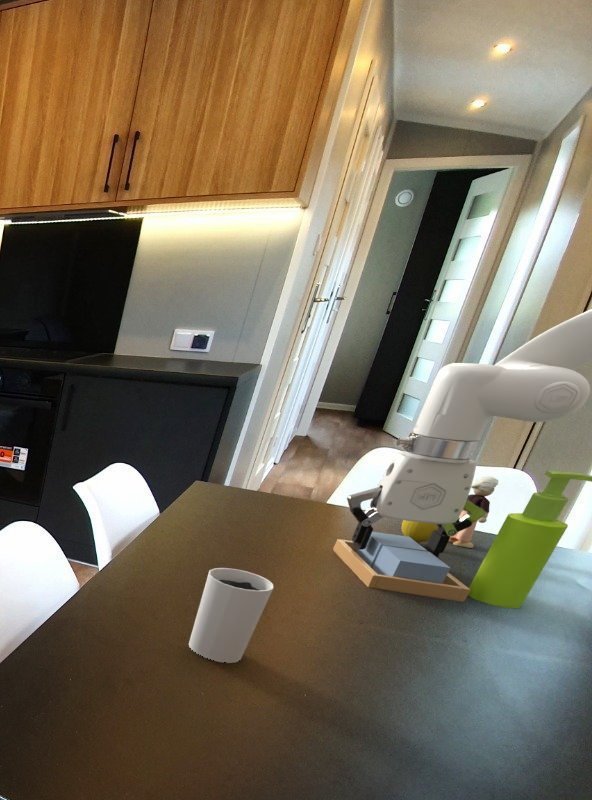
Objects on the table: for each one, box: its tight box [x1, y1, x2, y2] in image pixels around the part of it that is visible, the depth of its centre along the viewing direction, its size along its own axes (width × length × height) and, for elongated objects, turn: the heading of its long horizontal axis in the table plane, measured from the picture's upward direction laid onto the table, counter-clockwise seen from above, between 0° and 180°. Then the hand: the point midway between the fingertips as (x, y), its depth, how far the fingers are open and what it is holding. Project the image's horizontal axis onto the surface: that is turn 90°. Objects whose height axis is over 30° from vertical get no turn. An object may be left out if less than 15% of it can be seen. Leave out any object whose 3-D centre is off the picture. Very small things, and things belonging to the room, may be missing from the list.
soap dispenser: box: [467, 470, 592, 609], centre depth 91 cm, size 6×7×20 cm
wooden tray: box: [332, 538, 470, 603], centre depth 103 cm, size 12×17×2 cm
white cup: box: [188, 567, 274, 664], centre depth 78 cm, size 7×7×10 cm
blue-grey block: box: [372, 546, 451, 584], centre depth 99 cm, size 6×7×4 cm
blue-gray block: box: [356, 531, 427, 568], centre depth 105 cm, size 6×7×4 cm
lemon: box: [400, 520, 438, 544], centre depth 116 cm, size 6×6×8 cm
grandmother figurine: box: [448, 476, 499, 549], centre depth 116 cm, size 8×4×13 cm, turn 179°
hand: (393, 551), depth 105 cm, fingers open, 9 cm apart
